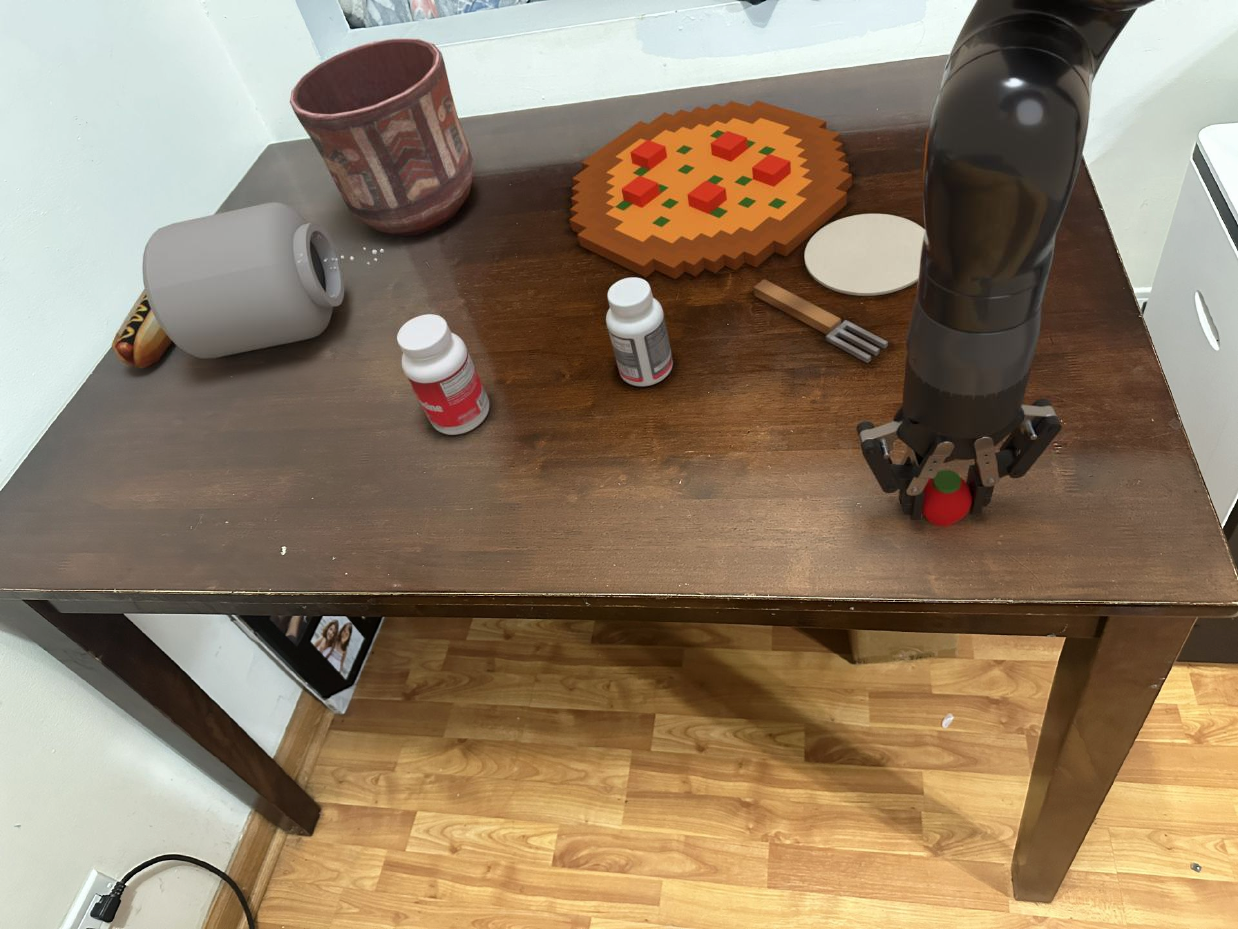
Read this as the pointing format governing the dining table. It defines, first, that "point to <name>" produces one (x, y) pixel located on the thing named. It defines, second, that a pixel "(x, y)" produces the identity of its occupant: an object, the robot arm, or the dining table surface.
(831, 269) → the plate
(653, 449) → the dining table surface
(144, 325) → the hot dog
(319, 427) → the dining table surface
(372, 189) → the pottery
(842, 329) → the fork
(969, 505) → the strawberry
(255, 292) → the jar
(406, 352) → the pill bottle
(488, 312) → the dining table surface
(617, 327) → the pill bottle
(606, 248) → the pizza
